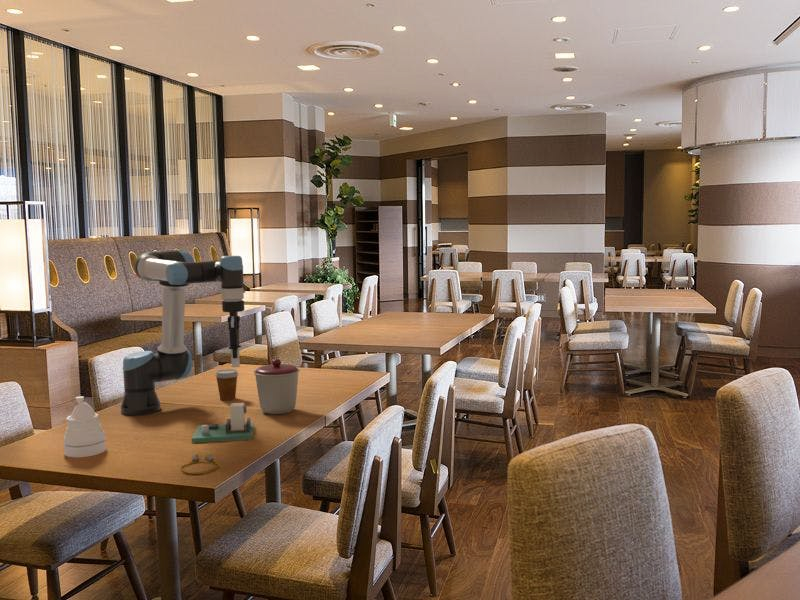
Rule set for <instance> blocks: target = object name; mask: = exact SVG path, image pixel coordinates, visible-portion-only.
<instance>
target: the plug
mask: <svg viewBox="0 0 800 600" xmlns="http://www.w3.org/2000/svg"><path fill="white" fill-rule="evenodd" d="M229 408H230V409H229V411H230V412H229V413H230V419H231V431H235V430H245V423H246V418H245V416H246V415H245V414H247V404H245V402H234V403H233V402H232V403H230V406H229Z"/></svg>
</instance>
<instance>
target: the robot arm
mask: <svg viewBox="0 0 800 600" xmlns="http://www.w3.org/2000/svg"><path fill="white" fill-rule="evenodd" d="M219 259H220V260H218V259H215V260H214V259H213V260H207V261H206V260H205V261H195V260H194V257H193V256H192V254H191V253H190V252H189V251H187V250H177V249H175V250H173V249H172V250H161V251H155V250H154V251H148V252H144V253H142V254H141V255H139V256H138V257H137V258H136V259H135V261H134V263H133V270H134V273H135V275H136V276H137V277H138V278H139V279H140V280H144V281H147V282H158V284H159V286H160V287H161V288H162V309H161V310H162V311H161V314H162V315H161V316H162V317H161V318H162V319H161V344H160V345H158V346H157V352H156V353H154V352H153V350H152V351H151V350H144V351H136V352H133V353H129V354H128V355H126V356H124V358H123V360H122V370H123V371H122V372H123V387H124V391H123V393H124V394H123V398H122V400H121V401H122V402H121V405H120V413H121V414H122V415H127V416H139V415H148V414H153V413H156V412H158V411H160V410H161V408H162V407H161V402H160V398H159V397H158V395H157V391H156V383H160V382H161V383H162V382H169V381H174V380H175V381H177V380H180V379H184V378H187V377H188V376H189V375H190V373H191V371H192V367H193V358H192V353H191V352H190V350H188V347H187V346H186V345H185V344H184V337H185V336H184V335H185V310H186V309H185V308H186V307H185V306H186V301H185V300H186V289H187V288H188V287H189V286H190V284H191V285H192V284H205V283H220V284H221V287H220V288H221V300H222V302H221V305H222V307H221V308H222V310H221V311H222V312H224V313H229V314H228V315H229V316H228V317H227V322H228V330H229V347H228V350H230V358H231V361H230V363H231V368H240V365H241V363H240V362H241V361H240V348H242V345H240V326H241V325H240V321H241V317H240V315H238V314H239V313H240V312H244V311H245V301H244V300H243V299H245V296H244V295H245V293H246V290H244V265H243V258H242V256H240V255H223V256H221V257H220V258H219Z"/></svg>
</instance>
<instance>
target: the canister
mask: <svg viewBox="0 0 800 600" xmlns="http://www.w3.org/2000/svg"><path fill="white" fill-rule="evenodd" d="M300 371H301V369H300V368H299V367H297V366H295V365H293V364H287V363H282V360H281V359H280V358H274V359H272V361H271V364H267V365H262V366H259V367H257V369H255V370H253V374H254V376H255V382H256V388H257V396H258V402H259V406H260V410H261V411H262V412H263V413H264V414H268V415H284V414H289V413H291V412H292V411H294V410H295V407H296V404H297V395H298V381H299V373H300Z"/></svg>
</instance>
